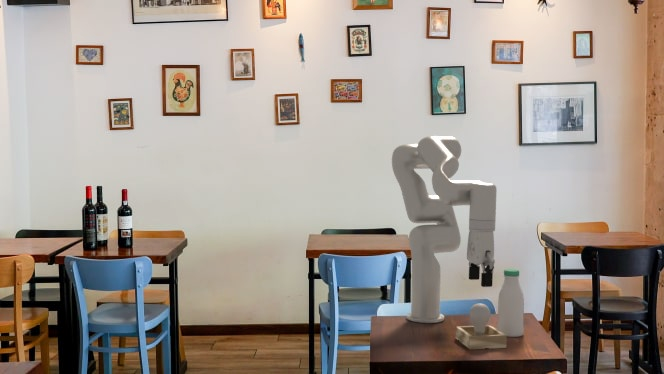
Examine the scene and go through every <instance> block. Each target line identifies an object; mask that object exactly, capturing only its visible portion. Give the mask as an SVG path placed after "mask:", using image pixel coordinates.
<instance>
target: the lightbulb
mask: <svg viewBox="0 0 664 374" xmlns="http://www.w3.org/2000/svg"><path fill="white" fill-rule="evenodd" d="M489 308H490V307H488V305H486V304H484V303H481V302H480V303H475V304H473V305H472V306H471V307H470V308H469V318H470V320H471V322H472V326H474V331H475V336H481V335H484V332H485V327H486V325H488V322H489V320H490V319H491V310H490V309H489Z"/></svg>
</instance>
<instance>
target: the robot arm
mask: <svg viewBox="0 0 664 374" xmlns="http://www.w3.org/2000/svg"><path fill="white" fill-rule="evenodd" d="M461 154H462V146H461V144H460V142H459V140H458V139H457V138H456V137H453V136H446V135H443V136H442V135H441V136H437V135H434V136H433V135H432V136H431V135H429V136H426V137H423V138H421V139H420V140H419V141H418V143H407V144H401V145H398V146H397V147H396V148H395V149H394V150H393V152H392V156H391V166H392V167H391V168H392V171H393V174H394V177H395V179H396V181H397V183H398V186H399V187H400V191H401V194H402V195H401V196H402V199H403V202H404V207H405V211H406V215H407V217H408V220H409V221H410V222H411V223H413V224H421V225H417V226H414V227H413V228H412V229H411V230H410V232H409V235H408V243H409V248H410V254H411V255H410V256H411V300H410V301H411V306H410V307H411V309H410V310H411V311H410V312H408V313H407V314H406V319H407V320H408V321H411V322H414V323H421V324H433V323H434V324H436V323H441V322H444V320H445V315H444V314H442V313H441V264H440V262H439V261H438V259H437V258H436V255H435V254H441V253H452V252H455V251H457V250H458V249H459V248H460V246H461V241H462V240H461V233H460V228H459V225H458V222H457V217H456V214H455V210H454V206H455V207H456V206H469V215H468V216H469V217H468V230H469V231H468V237H467V247H466V259H467V260H468V280H471V281H474V280H480V279H481V280H480V281H481V282H480V286H481V287H482V288H492V287H493V281H494V280H493V276H494V275H493V274H494V269H495V266H494V265H495V263H496V260H495V236H494V235H495V234H494V232H496V218H497V217H496V214H497V212H496V210H497V186H496V184H494V183H491V182H490V183H489V182H483V181H481V180H476V179H475V180H473V179H472V180H469V179H467V180H464V179H463V180H462V179H460V180H459V179H457V180H452V179H451V178H453V176H455V174H456V173H457V172H458V170H459V165H460V164H459V163H460V162H459V159H460V157H461ZM415 169H416V170H417V169H419V170H420V169H423V170H424V169H426V170H431V172H432V175H431V184H432V190H433V192H434V193H435V194H432V195H431V194H429V192H428V189H427V186H426V183H425V181H424V179H423V178H422V177H421V175H419V173H417V172H416V171H415ZM450 179H451V180H450ZM481 269H482V272H481V273H480V271H481ZM480 275H481V278H480Z"/></svg>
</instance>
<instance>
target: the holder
mask: <svg viewBox="0 0 664 374" xmlns="http://www.w3.org/2000/svg"><path fill="white" fill-rule="evenodd" d="M507 338H508V336H507V335H505V334H504V333H502V332H500V331H499V330H498V328H496V327H494V326H493V325H491V324H490V325H489V324H486V327H485V332H484V335H481V336H475V331H474V325H463V326H455V339H456V340H457V341H458V340H459V342H460V343H461V344H462V345H464V347H466V348H467V349H469V350H483V349H484V350H485V348H489V349H505V348H507Z"/></svg>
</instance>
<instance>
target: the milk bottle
mask: <svg viewBox="0 0 664 374" xmlns="http://www.w3.org/2000/svg"><path fill="white" fill-rule="evenodd" d="M503 277H504V280H503V283H502V286H501V288H500V291H499V293H498V301H497V302H498V303H497V330H499V331H500V332H502V333H504V334H505V335H507V338H508V337H509V338H510V337H511V338H517V337H521V336H523V335H524V321H525V319H524V317H525V313H524V312H525V310H524V309H525V302H524V301H525V299H524V298H525V296H524V293H523V290H522V288H521V285H520V282H519V281H520V280H519V278H520V270H518V269H514V268H513V269H512V268H507V269H504V270H503Z"/></svg>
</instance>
